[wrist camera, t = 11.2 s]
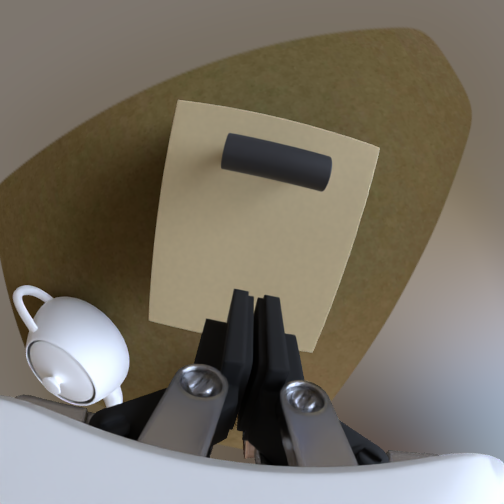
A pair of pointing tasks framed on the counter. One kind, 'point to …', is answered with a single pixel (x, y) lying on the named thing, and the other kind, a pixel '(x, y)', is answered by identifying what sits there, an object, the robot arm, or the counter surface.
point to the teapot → (74, 349)
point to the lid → (255, 217)
